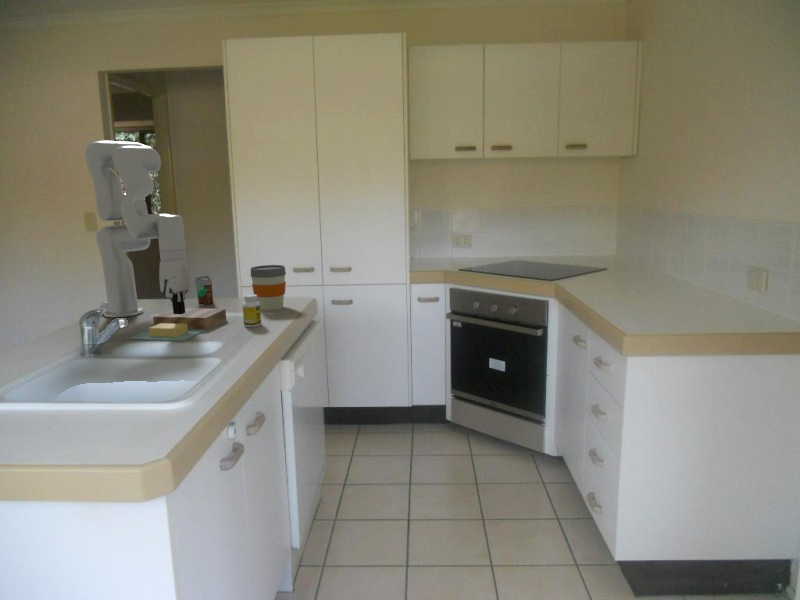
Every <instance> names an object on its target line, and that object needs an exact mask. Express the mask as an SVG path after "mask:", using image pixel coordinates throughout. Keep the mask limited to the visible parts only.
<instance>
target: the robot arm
mask: <svg viewBox="0 0 800 600" xmlns="http://www.w3.org/2000/svg"><path fill="white" fill-rule="evenodd" d="M85 147H86V148H85V150H84V151H85V152H84V158H85V163H86V167H87V169H88V171H89V174H90V176H91V179H92V181H93V182H92V183H93V189H94V196H95V198H94V199H95V203H96V204H95V205H96V210H97V215H98V217H99V219H101V220H102V221H105V222H123V223H124V224H116V225H115V224H114V225H112V224H111V225H105V226H102V227H101V228H99V229H98V230H97V231H96V234H95V241H96V244H97V247H98V251H99V253H100V258H101V262H102V269H103V277H104V283H105V284H104V286H105V293H106V299H107V301H106V302H103V301H102V302H101V303H100V305H99V309H105V311H104V313H103V315H104V317H106V318H126V317H132V316H137V315H140V314H142V313H144V308H143V307H139V304H138V296H137V287H136V280H135V272H134V270H135V269H134V266H133V265H134V264H133V262H132V260H131V259H130V258H129V257H128V256H127V255H126V254H125V253H127V252H137V251H143V250H144V251H145V250H147V249H148V248H149V246H150V245H151V240H152V239H153V240H154V239H158V249H159V256H160V261H159V267H158V268H159V273H158V275H159V289H160V293H162V294H165V299H169V300H170V302H171V305H172V309H173V313H174V314H184V313H185V308H186V303H185V300H186V294H188V292H189V289H190V288H191V276H190V269H189V265H188V261H187V259H188V257H187V251H186V237H185V228H184V220H183V217H182V216H181V215H179V214H169V213H152V214H151V213H150V214H149V211H148V205H147V203H146V200H145V199H144V198H146V197H148V196H150V194H152V193H153V192H154V190H155V183H154V181H153V179H152V177H151V175H150V173H151V174H152V173H157V172H159V171H160V169H161V167H162V159H161V155H160V154H159V153H158V151H157V150H156V149H155V148H154V147H151V146H150V145H145V144H143V143H139V142H133V141H114V140H96V141H92V142H90V143H88V144H87V145H86V146H85ZM112 168H115V169H116V171H117V173H116V171H115V170H114V169H112ZM122 184H123V187H124V189H125V191H126V192H125V193H124V192H123V188H122Z"/></svg>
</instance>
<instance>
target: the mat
mask: <svg viewBox="0 0 800 600" xmlns="http://www.w3.org/2000/svg"><path fill="white" fill-rule="evenodd" d="M206 331H207V330H205V329H188V332H186V333H184V334H182V335H180V336H178V337H163V336H150V335H149V329H148V330H146V331H143V332H141V333H138V334H136V335H134V336H133V335H132V336H131V337H129V338H128V340H129V339H143V340H142V341H166V342H186V341H188V340H190V339H192V338H194V337H196V336H198V335H200V334H202V333H204V332H206ZM187 339H188V340H187ZM185 340H186V341H185Z"/></svg>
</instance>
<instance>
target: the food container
mask: <svg viewBox="0 0 800 600" xmlns="http://www.w3.org/2000/svg"><path fill="white" fill-rule="evenodd" d="M212 283H213V282H212V278H210V275H200V276H197V277H194V279H193V285H195V289H196V296H197V301H198V304H199V305H200V304H204V305H203V306H213V305H214V297H213V296H214V293H213V284H212ZM212 304H213V305H212Z"/></svg>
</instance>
